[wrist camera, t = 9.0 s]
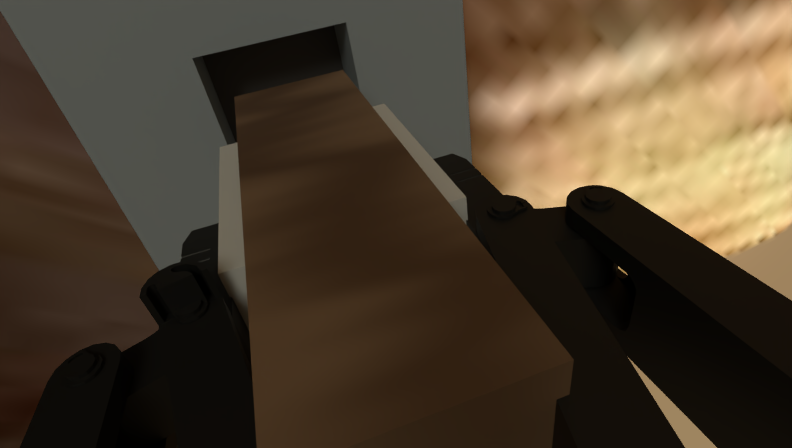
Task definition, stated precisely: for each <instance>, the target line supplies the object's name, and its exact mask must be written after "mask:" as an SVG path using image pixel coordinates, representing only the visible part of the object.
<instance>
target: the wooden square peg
mask: <svg viewBox="0 0 792 448" xmlns="http://www.w3.org/2000/svg"><path fill="white" fill-rule="evenodd" d="M234 99H235V115H236V131H237V146H238V162H239V178H240V193H241V209H242V225H243V240H244V256H245V272H246V287H247V303H248V319H249V334H250V350H251V366H252V381H253V397H254V412H255V428H256V444H257V448H552V442H553V431H554V421H555V410H556V400H557V399H559V398H562V397H564V396H567V395H569V394H570V386H571V378H572V370H573V362H574V359H573V358H572V357H571V355H570V354H569V353H568V352H567V350H566V349H565V348H564V347H563V345H562V344H561V343H560V342H559V340H558V339H557V338H556V337H555V335H554V334H553V333H552V331H551V330H550V329H549V328H548V326H547V325H546V324H545V323H544V321H543V320H542V319H541V318H540V316H539V315H538V314H537V313H536V311H535V310H534V309H533V308H532V306H531V305H530V304H529V303H528V301H527V300H526V299H525V298H524V296H523V295H522V294H521V293H520V291H519V290H518V289H517V288H516V286H515V285H514V284H513V283H512V281H511V280H510V279H509V278H508V276H507V275H506V274H505V273H504V271H503V270H502V269H501V268H500V266H499V265H498V264H497V263H496V261H495V260H494V259H493V257H492V256H491V255H490V254H489V252H488V251H487V250H486V249H485V247H484V246H483V245H482V244H481V242H480V241H479V240H478V239H477V237H476V236H475V235H474V234H473V232H472V231H471V230H470V229H469V227H468V226H467V225H466V224H465V222H464V221H463V220H462V219H461V217H460V216H459V215H458V214H457V212H456V211H455V210H454V209H453V207H452V206H451V205H450V204H449V202H448V201H447V200H446V199H445V197H444V196H443V195H442V194H441V192H440V191H439V190H438V189H437V187H436V186H435V185H434V183H433V182H432V181H431V180H430V178H429V177H428V176H427V175H426V173H425V172H424V171H423V170H422V168H421V167H420V166H419V165H418V163H417V162H416V161H415V160H414V158H413V157H412V156H411V155H410V153H409V152H408V151H407V150H406V148H405V147H404V146H403V145H402V143H401V142H400V141H399V140H398V138H397V137H396V136H395V135H394V133H393V132H392V131H391V130H390V128H389V127H388V126H387V125H386V123H385V122H384V121H383V120H382V118H381V117H380V116H379V115H378V113H377V112H376V111H375V109H374V108H373V107H372V106H371V104H370V103H369V102H368V101H367V99H366V98H365V97H364V96H363V94H362V93H361V92H360V91H359V89H358V88H357V87H356V86H355V84H354V83H353V82H352V81H351V79H350V78H349V77H348V76H347V74H346V73H345V72H344V71H343V70H340V71H336V72H332V73H328V74H324V75H320V76H316V77H312V78H308V79H304V80H300V81H296V82H292V83H288V84H284V85H280V86H276V87H272V88H268V89H264V90H260V91H256V92H252V93H248V94H244V95H240V96H236V97H234Z"/></svg>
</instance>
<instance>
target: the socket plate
mask: <svg viewBox="0 0 792 448" xmlns="http://www.w3.org/2000/svg"><path fill="white" fill-rule="evenodd" d="M0 11H1V12H2V14H3V16H4V17H5V19H6V21H7V22H8V24H9V26H10V27H11V29H12V30H13V32H14V34H15V35H16V37H17V39H18V40H19V42H20V44H21V45H22V47H23V48H24V50H25V52H26V53H27V55H28V57H29V58H30V60H31V61H32V63H33V65H34V66H35V68H36V70H37V71H38V73H39V75H40V76H41V78H42V79H43V81H44V83H45V84H46V86H47V88H48V89H49V91H50V93H51V94H52V96H53V97H54V99H55V101H56V102H57V104H58V106H59V107H60V109H61V111H62V112H63V114H64V115H65V117H66V119H67V120H68V122H69V124H70V125H71V127H72V129H73V130H74V132H75V133H76V135H77V137H78V138H79V140H80V142H81V143H82V145H83V146H84V148H85V150H86V151H87V153H88V155H89V156H90V158H91V160H92V161H93V163H94V164H95V166H96V168H97V169H98V171H99V173H100V174H101V176H102V178H103V179H104V181H105V182H106V184H107V186H108V187H109V189H110V191H111V192H112V194H113V196H114V197H115V199H116V200H117V202H118V204H119V205H120V207H121V209H122V210H123V212H124V213H125V215H126V217H127V218H128V220H129V222H130V223H131V225H132V227H133V228H134V230H135V231H136V233H137V235H138V236H139V238H140V240H141V241H142V243H143V245H144V246H145V248H146V249H147V251H148V253H149V254H150V256H151V258H152V259H153V261H154V263H155V264H156V266H157V267H158V269H159V271H160V270H162V269H164V268H165V267H167V266H169V265H172V264H175V263H178V262H180V261H181V258H182V257H181V253H182V244H183V243H184V241H185V240H186V238H187V237H188V235H189V234H190V233H191V231H193V230H196V229H200V228H203V227H207V226H210V225H213V224H217V223H219V157H220V147H222V146H226V145H230V144H234V143H237V131H236V115H235V99H234V97H236V96H240V95H244V94H248V93H252V92H256V91H260V90H264V89H268V88H272V87H276V86H280V85H284V84H288V83H292V82H296V81H300V80H304V79H308V78H312V77H316V76H320V75H324V74H328V73H332V72H336V71H340V70H343V71H344V72H345V73H346V74H347V76H348V77H349V78H350V79H351V81H352V82H353V83H354V84H355V86H356V87H357V88H358V89H359V91H360V92H361V93H362V94H363V96H364V97H365V98H366V99H367V101H368V102H369V103H370V104H371V106H372V107H373V106H376V105H380V104H385V105H386V106H387V107H388V108H389V109H390V111H391V112H392V113H393V114H394V115H395V116H396V117H397V119H398V120H399V121H400V122H401V123H402V124H403V125H404V127H405V128H406V129H407V130H408V131H409V132H410V133H411V135H412V136H413V137H414V138H415V139H416V140H417V141H418V143H419V144H420V145H421V146H422V147H423V148H424V149H425V151H426V152H427V153H428V154H429V155H430V156H431V157H432V158H433V159H435V158H438V157H442V156H445V155H449V154H452V153H453V154H455V155H458V156H460V157H463V158H465V159H467V160H468V161H469V162H470V163H471V164H472V156H471V139H470V122H469V105H468V88H467V71H466V54H465V37H464V20H463V3H462V0H0Z"/></svg>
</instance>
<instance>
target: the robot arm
mask: <svg viewBox="0 0 792 448" xmlns="http://www.w3.org/2000/svg"><path fill="white" fill-rule="evenodd" d="M373 108H374V109H375V111H376V112H377V113H378V115H379V116H380V117H381V118H382V120H383V121H384V122H385V123H386V125H387V126H388V127H389V128H390V130H391V131H392V132H393V133H394V135H395V136H396V137H397V138H398V140H399V141H400V142H401V143H402V145H403V146H404V147H405V148H406V150H407V151H408V152H409V153H410V155H411V156H412V157H413V158H414V160H415V161H416V162H417V163H418V165H419V166H420V167H421V168H422V170H423V171H424V172H425V173H426V175H427V176H428V177H429V178H430V180H431V181H432V182H433V183H434V185H435V186H436V187H437V189H438V190H439V191H440V192H441V194H442V195H443V196H444V197H445V199H446V200H447V201H448V202H449V204H450V205H451V206H452V207H453V209H454V210H455V211H456V212H457V214H458V215H459V216H460V217H461V219H462V220H463V221H464V222H465V224H466V225H467V226H468V227H469V229H470V230H471V231H472V232H473V234H474V235H475V236H476V237H477V239H478V240H479V241H480V242H481V244H482V245H483V246H484V247H485V249H486V250H487V251H488V252H489V254H490V255H491V256H492V257H493V259H494V260H495V261H496V263H497V264H498V265H499V266H500V268H501V269H502V270H503V271H504V273H505V274H506V275H507V276H508V278H509V279H510V280H511V281H512V283H513V284H514V285H515V286H516V288H517V289H518V290H519V291H520V293H521V294H522V295H523V296H524V298H525V299H526V300H527V301H528V303H529V304H530V305H531V306H532V308H533V309H534V310H535V311H536V313H537V314H538V315H539V316H540V318H541V319H542V320H543V321H544V323H545V324H546V325H547V326H548V328H549V329H550V330H551V331H552V333H553V334H554V335H555V337H556V338H557V339H558V340H559V342H560V343H561V344H562V345H563V347H564V348H565V349H566V350H567V352H568V353H569V354H570V355H571V357H572V358H573V359H574V362H573V370H572V378H571V386H570V394H569V395H567V396H564V397H562V398H559V399H557V400H556V410H555V421H554V431H553V442H552V448H685V447H684V445H683V444H682V442H681V441H680V439H679V438H678V436H677V434H676V433H675V431H674V430H673V428H672V427H671V425H670V423H669V422H668V420H667V419H666V417H665V416H664V414H663V412H662V411H661V409H660V408H659V406H658V405H657V403H656V401H655V400H654V398H653V396H652V395H651V393H650V392H649V390H648V389H647V387H646V385H645V384H644V382H643V381H642V379H641V378H640V376H639V375H638V373H637V371H636V370H635V368H634V367H633V365H632V363H631V362H630V360H629V359H628V357H629V358H630V359H631V360H632V361H633V362H634V363H635V364H636V365H637V366H638V368H640V370H641V371H643V373H644V374H645V375H646V376H647V377H648V378H649V379H650V380H651V381H652V382H653V383H654V384H655V385H656V386H657V387H658V388H659V389H660V390H661V391H662V392H663V393H664V394H665V395H666V396H667V397H668V398H669V399H670V400H671V401H672V402H673V403H674V404H675V405H676V406H677V407H678V408H679V409H680V410H681V411H682V412H683V413H684V414H685V415H686V416H687V417H688V418H689V419H690V420H691V421H692V422H693V423H694V424H695V425H696V426H697V427H698V428H699V429H700V430H701V431H702V433H703V434H704V435H705V436H706V437H707V438H708V439H709V440H710V441H712V442H713V444H714V445H715V446H716V447H717V448H792V301H791V300H790V299H788V298H786V297H785V296H783V295H782V294H780V293H779V292H777V291H776V290H774V289H772V288H771V287H769V286H767V285H766V284H765V283H763V282H761V281H760V280H758V279H757V278H755V277H754V276H752V275H750V274H749V273H747V272H746V271H744V270H743V269H741V268H740V267H738V266H736V265H735V264H733V263H732V262H730V261H729V260H727V259H725V258H724V257H722V256H721V255H719V254H718V253H716V252H714V251H713V250H711V249H710V248H708V247H707V246H705V245H704V244H702V243H700V242H699V241H697V240H696V239H694V238H693V237H691V236H689V235H688V234H686V233H685V232H683V231H682V230H680V229H678V228H677V227H675V226H674V225H672V224H671V223H669V222H668V221H666V220H664V219H663V218H661V217H660V216H658V215H657V214H655V213H653V212H652V211H650V210H649V209H647V208H646V207H644V206H642V205H641V204H639V203H638V202H636V201H635V200H633V199H631V198H630V197H628V196H627V195H625V194H624V193H622V192H620V191H618V190H616V189H613V188H610V187H605V186H600V185H595V186H594V185H591V186H584V187H579V188H577V189H575V190H573V191H571V192H570V194H569V195H568V197H567V202H566V206H565V207H554V208H544V209H533V207H532V205H531V204H529V203H528V202H527V201H526V200H524V199H522V198H520V197H517V196H510V195H502V194H501V193H500V192H499V191H498V190H497V189H496V188H495V187H494V186H493V185H492V184H491V183H490V182H489V181H488V180H487V179H486V178H485V177H484V176H483V175H481V173H480V172H479V171H478V170H477V169H475V167H474V166H473V165H472V164H471V163H470V162H469V161H468V160H467V159H465V158H463V157H460V156H458V155H455V154H453V153H452V154H449V155H445V156H442V157H438V158H435V159H433V158H432V157H431V156H430V155H429V154H428V153H427V152H426V151H425V149H424V148H423V147H422V146H421V145H420V144H419V143H418V141H417V140H416V139H415V138H414V137H413V136H412V135H411V133H410V132H409V131H408V130H407V129H406V128H405V127H404V125H403V124H402V123H401V122H400V121H399V120H398V119H397V117H396V116H395V115H394V114H393V113H392V112H391V111H390V109H389V108H388V107H387V106H386V105H385V104H380V105H376V106H373ZM181 257H182V258H181V261H180V262H178V263H175V264H172V265H169V266H167V267H165V268H164V269H162V270H160V271H158V272H157V273H156V274H154V275H153V276H152V277H151V278H149V279H148V280H147V282H146V283H145V284H144V286H143V287H142V288H141V293H140V299H141V300H142V302H143V303H144V304H145V306H146V307H147V309H148V310H149V312H150V313H151V315H152V316H153V318H154V319H155V321H156V322H157V324H158V325H159V330H158V331H156V332H155V333H154V334H152V335H151V336H149V337H148V338H146V339H145V340H143V341H141V342H139V343H137V344H136V345H134V346H132V347H130V348H128V349H127V350H125V351H123V352H121V351H120V350H119V349H118V347H117V346H116V345H114V344H110V343H101V344H95V345H92V346H89V347H87V348H84V349H82V350H80V351H78V352H77V353H75V354H74V355H72V356H71V357H69V358H68V359H66V360H65V361H64V362H63V363H62V364H61V365H60V366H59V367H58V368H57V369H56V370H55V371H54V373H53V374H52V376H51V377H50V379H49V381H48V382H47V385H46V387H45V390H44V392H43V394H42V397H41V399H40V401H39V404H38V406H37V408H36V411H35V413H34V416H33V418H32V420H31V423H30V425H29V427H28V430H27V432H26V435H25V437H24V439H23V442H22V444H21V446H20V448H177V445H178V448H257V444H256V428H255V412H254V397H253V381H252V366H251V350H250V334H249V319H248V303H247V287H246V272H245V256H244V240H243V225H242V209H241V193H240V178H239V162H238V146H237V143H234V144H230V145H226V146H222V147H220V157H219V223H217V224H213V225H210V226H207V227H203V228H200V229H196V230H193V231H191V233H190V234H189V235H188V237H187V238H186V240H185V241H184V243H183V244H182V253H181ZM618 266H619V267H620V268H621V269H623V270H624V271H625V272H626V273H627V274H628V275H626V274H625V273H623V272H622V271H621V270H619V269H618ZM627 356H628V357H627Z"/></svg>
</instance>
